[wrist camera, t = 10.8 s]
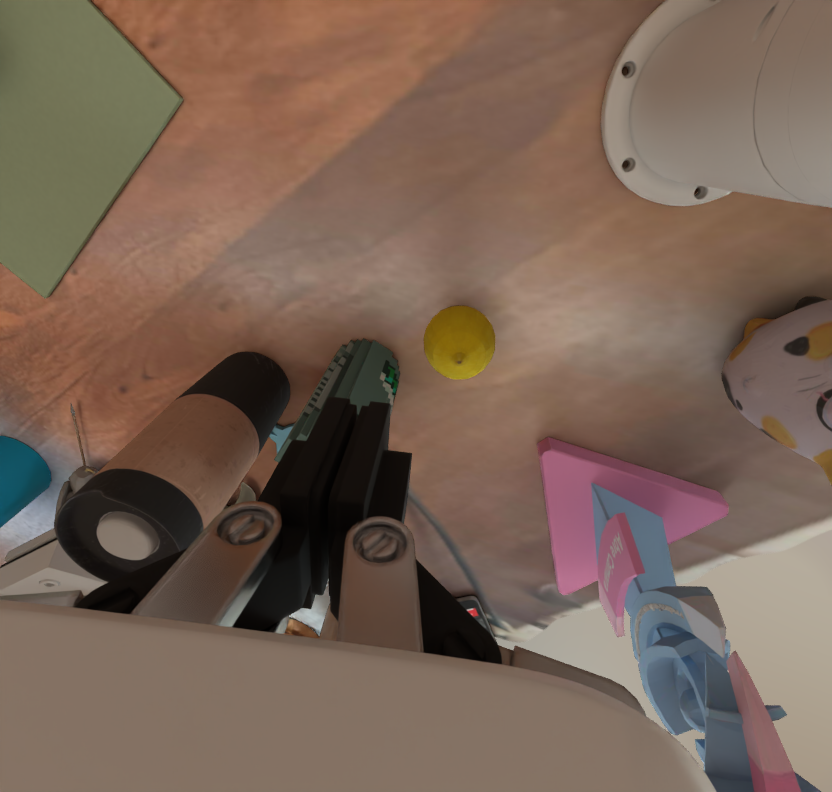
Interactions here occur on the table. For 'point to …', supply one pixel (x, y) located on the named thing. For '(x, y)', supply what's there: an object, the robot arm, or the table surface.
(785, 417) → the figurine
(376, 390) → the can
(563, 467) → the trophy
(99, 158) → the mat
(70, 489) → the toy
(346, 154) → the table surface
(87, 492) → the travel mug
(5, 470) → the mug
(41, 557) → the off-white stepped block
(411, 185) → the table surface
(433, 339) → the fruit
